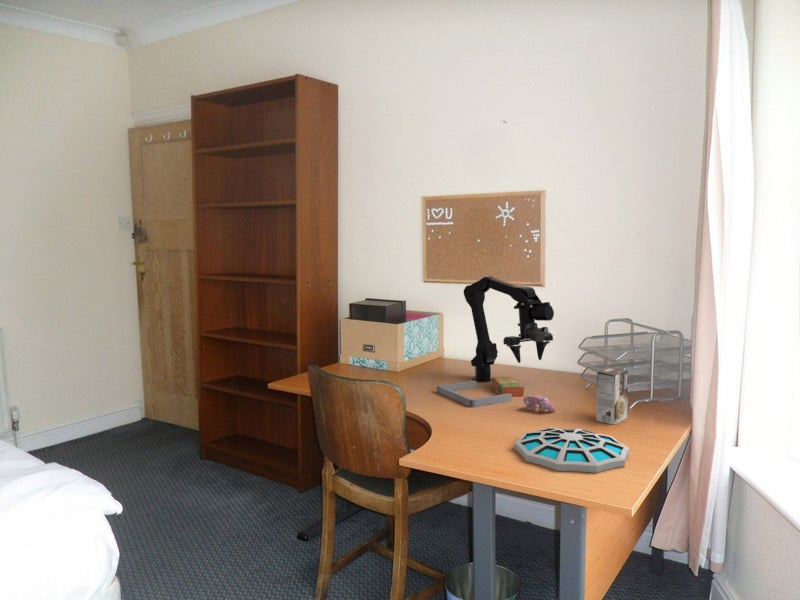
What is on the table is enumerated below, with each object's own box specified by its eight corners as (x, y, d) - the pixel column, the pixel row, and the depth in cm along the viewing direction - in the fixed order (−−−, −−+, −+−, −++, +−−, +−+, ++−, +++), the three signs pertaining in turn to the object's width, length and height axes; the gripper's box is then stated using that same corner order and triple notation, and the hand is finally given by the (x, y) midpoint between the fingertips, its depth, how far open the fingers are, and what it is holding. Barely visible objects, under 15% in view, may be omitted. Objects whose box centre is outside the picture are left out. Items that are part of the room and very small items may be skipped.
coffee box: (608, 414, 202) (610, 366, 201) (627, 418, 198) (629, 369, 196) (595, 420, 196) (596, 371, 194) (614, 425, 191) (615, 374, 190)
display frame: (436, 392, 233) (436, 385, 232) (474, 386, 241) (474, 380, 240) (471, 407, 212) (471, 400, 212) (511, 400, 220) (511, 394, 220)
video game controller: (524, 413, 210) (520, 397, 208) (531, 404, 213) (526, 388, 210) (550, 418, 204) (546, 402, 201) (556, 410, 207) (552, 393, 204)
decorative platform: (493, 453, 169) (493, 435, 169) (550, 428, 190) (550, 413, 189) (596, 484, 148) (597, 464, 147) (649, 453, 168) (649, 435, 167)
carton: (512, 386, 242) (512, 376, 241) (524, 397, 226) (524, 386, 225) (491, 387, 241) (491, 376, 241) (501, 398, 225) (502, 386, 225)
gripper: (517, 323, 222) (520, 366, 222) (560, 319, 229) (563, 360, 229) (501, 322, 232) (504, 363, 233) (543, 317, 239) (545, 357, 240)
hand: (529, 361), depth 233 cm, fingers open, 9 cm apart
